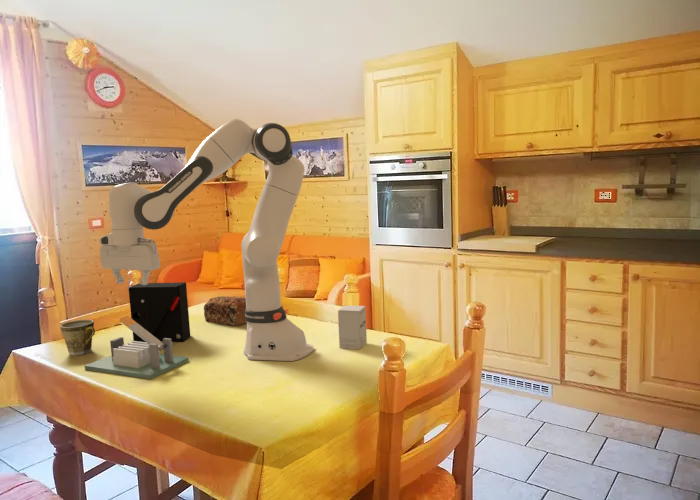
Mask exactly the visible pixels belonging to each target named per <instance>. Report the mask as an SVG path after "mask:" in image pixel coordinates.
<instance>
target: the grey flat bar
mask: <svg viewBox="0 0 700 500" xmlns="http://www.w3.org/2000/svg"><path fill="white" fill-rule="evenodd" d="M119 322H120V323H121V324H122V325H124V326H125V327H126V328H128V329H129V330H130V331H131V332H132V333H133V332H134V333H135V334H137V335H138V336H139V337H140V338H142V339H143V340H144V341H145V342H147V343H148V344H151V343H153V344H158V351H161V350H164V348H166V347H167V345H166V344H163V342H161V341H160V340H158V339H157V338H156V337H154V336H153V335H152V334H151V333H149V332H148V331H147V330H146V329H144V328H143V327H142V326H140V325H139V324H138V323H137V322H135V321H134V320H133V319H132V318H131V316H129V315H126V316H123V317H120V318H119Z"/></svg>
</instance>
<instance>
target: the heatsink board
mask: <svg viewBox="0 0 700 500" xmlns="http://www.w3.org/2000/svg"><path fill="white" fill-rule="evenodd" d="M109 343H110V350H111V351H110V352H111V355H109V356H107V357H104V358H101V359H98V360H96V361H93V362H91V363H87V364H86V365H84V370H85V371H93V372H99V373H106V374H111V373H112V374H111V375H118V374H119V376H126V377H132V378H139V379H145V380H152V379H155V378H156V377H159V376H160V375H162V374H164V373H167V372H169V371H171V370H173V369H175V368H177V367H180V366H181V365H184V364H185V363H188V362H190V359H189V356H180V355H175V354H174V353H173V342H172V340H171V339H170V338H164V339H163V342H162V343H163V344H166V345H167V347H166V348H164V349H163V353H161V350H159V351H158V344H153V343H151V344H148V343H147V342H138V341H133V340H132V341H131V342H128V343H127V344H125V342H124V337H122V336H120V337H117V338H114V339H112V340H109Z"/></svg>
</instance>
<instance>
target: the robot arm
mask: <svg viewBox="0 0 700 500" xmlns="http://www.w3.org/2000/svg"><path fill="white" fill-rule="evenodd" d="M247 154H250V155H252V156H253V157H255V158H257V159H258V160H260V161H264V162H267V163H268V174H267V176H266V177H267V178H266V180H265V182H264V184H263V187H262V190H261V193H260V195H259V198H258V201H257V204H256V206H255V209H254V214H253V217H252V220H251V223H250V226H249V229H248V232H247V233H245V234H244V236H243V238H242V241H241V243H240V245H241V246H240V247H241V249H240V250H241V260H242V270H243V271H242V272H243V282H244V293H245V298H246V309H245V320H246V323H245V324H246V335H245V336H246V337H245V338H246V339H245V346H244V350H243V353H244V355H245V356H246V357H247V360H252V361H253V360H254V361H256V360H257V361H281V362H282V361H283V362H284V361H285V362H286V361H287V362H292V361H293V362H294V361H297V360H300V359H303V358H305V357H307V356H309V355H310V354H311V353H313V351H314V349H315V348H314V345H313V344H309V343H307V339H306V338H307V337H306V335H305V332H304V331H303V329H301V328H300V327H299V326H297V325H296V324H295V323H293V322H292V321H291V320H290V319H288V318H287V317H288V316H287V314H289V309H284V306H282V301H281V300H282V298H281V283H280V277H279V275H280V274H279V269H278V259H279V256H280V254H281V253H280V252H281V251H282V247H283V244H284V240H285V237H286V233H287V229H288V226H289V222H290V218H291V216H292V214H293V211H294V208H295V205H296V203H297V200H298V197H299V195H300V192H301V188H302V186H303V185H302V184H303V180H304V176H305V174H304V173H305V165H304V164H303V162H302V161H301V160H300V159H299V158H297V157H295V156H294V153H293V146H292V139H291V136H290V133H289V131H288V130H287V129H286V128H285V127H284V126H283V125H281V124H278V123H276V122H275V123H274V122H269V123H265V124H263V125H261V126H260V127H258V128H252V127H251V126H250V125H249V124H247V123H246V122H245V121H244V120H241V119H238V118H233V119H230V120H229V121H226V122H225V123H224V124H222V125H221V126H219V127H218V128H216V129H215V130H214V131H213V132H212V133H210V134H209V135H208V136H207V137H206V138H205V139H204V140H203V141H202V142H201V143H200V144H199V146H197V148H196V149H195V151H193V154H191V157H190V158H189V159H188V162H187V163H186V164H185V166H184V167H183V168H182V169H181V170H180V171H179V172H178V173H177V174H176V175H175V176H174V177H172V178H171V179H170V180H169V181H168V182H166V183H165V185H163V186H162V187H161V188H160V189H157V190H156V191H154V190H149V189H147V188H145V187H143V186H141V185H140V184H138V183H137V182H133V181H132V182H131V181H130V182H126V183H121V184H116V185H114V186H112V187H111V189H110V190H109V193H108V211H109V216H110V219H111V226H110V233H108V234H105V235H103V236H101V237H99V238H98V243H99V245H100V249H99V257H100V264H101V266H102V268H103V269H106V270H107V269H111V274H112V275H113V276H114V278H115V283H116V284H118V285H119V284H120V285H122V284H125V277H124V276H122V274H121V271H122V270H131V271H140V272H141V274H142V276H141V278H140V279H139V283H140V285H147V284H148V283H149V277H150V274H151V271H156V270H158V269H159V268H160V267H161V263H160V261H161V260H160V255H159V251H158V247H157V242H155V240H153V239H152V238H145V235H144V228H145V229H147V230H153V231H154V230H159V229H162V228H165V226H166V225H168V224H169V223H170V221H171V220H172V218H173V216H174V215H175V211H176V208H177V207H178V206H179V204H181V202H182V201H183V200H185V199H186V197H189V195H190V194H191V193H192V192H194V190H196V188H198V187H199V186H201V185H202V184H204V183H206V182H208V181H210V180H213V179H216V178H217V177H220V176H221V175H222V174H223V173H226V172H227V171H228V170H229V169H230V168H231V167H233V165H235V164H236V163H237V162H239V160H240V159H241V158H243V157H244V156H245V155H247Z"/></svg>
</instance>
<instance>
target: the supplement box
mask: <svg viewBox="0 0 700 500" xmlns="http://www.w3.org/2000/svg"><path fill="white" fill-rule="evenodd" d="M337 317H338V319H337V320H338V321H337V322H338V344H339V349H346V350H347V349H349V350H361V349H362V348H363V347H364V346H365V344H367V343H368V341H367V340H368V339H367V312H366V306H365V305H344V306H343V307H341V308H339V309H338V311H337Z"/></svg>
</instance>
